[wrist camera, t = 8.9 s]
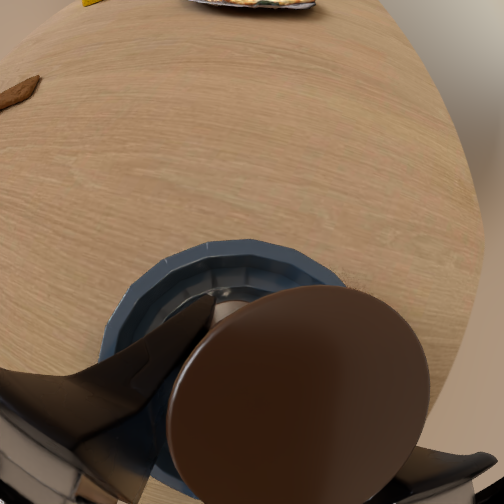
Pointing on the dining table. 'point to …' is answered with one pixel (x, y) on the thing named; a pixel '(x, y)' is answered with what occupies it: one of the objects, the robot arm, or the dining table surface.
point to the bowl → (197, 285)
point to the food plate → (262, 3)
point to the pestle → (298, 400)
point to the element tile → (89, 2)
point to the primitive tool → (18, 92)
